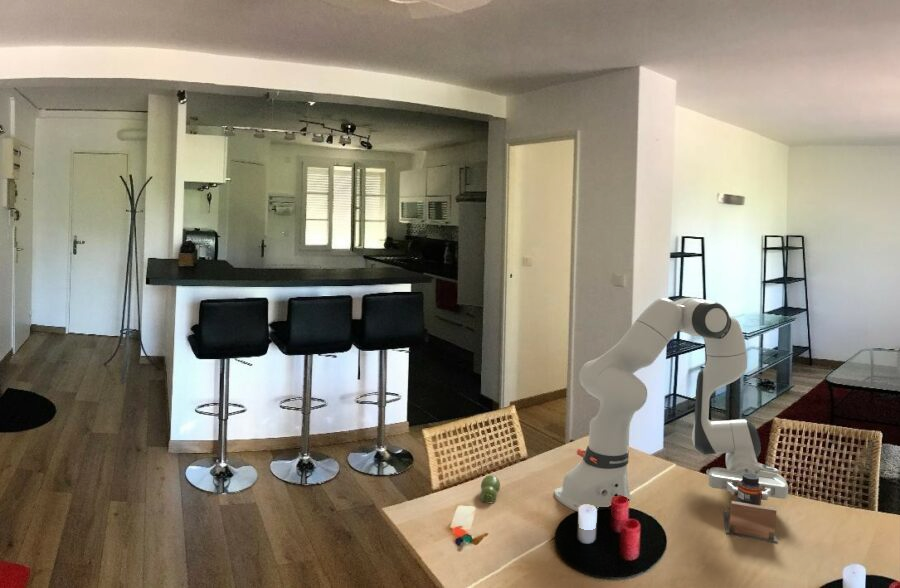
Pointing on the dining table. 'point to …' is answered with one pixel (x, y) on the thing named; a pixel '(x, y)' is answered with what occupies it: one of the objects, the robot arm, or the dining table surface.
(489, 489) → the green rounded lumpy piece
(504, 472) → the dining table surface
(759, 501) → the supplement bottle
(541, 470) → the dining table surface
